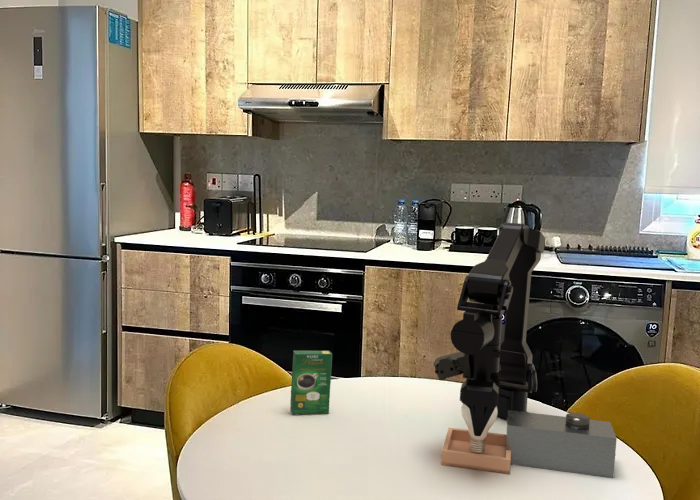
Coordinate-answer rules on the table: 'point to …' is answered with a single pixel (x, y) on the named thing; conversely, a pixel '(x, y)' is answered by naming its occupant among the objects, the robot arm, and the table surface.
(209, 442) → the table surface
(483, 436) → the lightbulb
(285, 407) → the table surface
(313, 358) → the coffee box
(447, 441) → the dish
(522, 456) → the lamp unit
